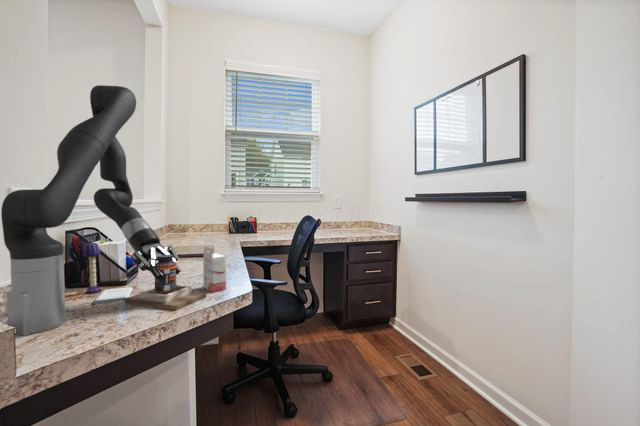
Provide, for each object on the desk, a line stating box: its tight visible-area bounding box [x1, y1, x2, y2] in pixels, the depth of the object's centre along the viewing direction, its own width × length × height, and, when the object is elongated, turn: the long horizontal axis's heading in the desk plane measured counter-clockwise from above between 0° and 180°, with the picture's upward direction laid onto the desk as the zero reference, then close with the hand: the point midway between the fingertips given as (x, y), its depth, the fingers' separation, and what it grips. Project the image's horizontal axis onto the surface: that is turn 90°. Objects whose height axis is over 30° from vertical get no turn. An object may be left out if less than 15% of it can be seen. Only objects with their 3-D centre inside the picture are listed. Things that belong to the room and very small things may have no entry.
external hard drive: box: [93, 286, 133, 305], centre depth 94 cm, size 2×8×12 cm
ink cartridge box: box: [202, 246, 227, 293], centre depth 102 cm, size 9×5×15 cm, turn 43°
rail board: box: [124, 284, 207, 311], centre depth 90 cm, size 12×20×3 cm, turn 71°
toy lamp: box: [82, 242, 103, 295], centre depth 98 cm, size 5×5×17 cm
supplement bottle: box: [154, 255, 177, 294], centre depth 90 cm, size 6×6×11 cm
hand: (170, 275), depth 89 cm, fingers closed on supplement bottle, 6 cm apart
